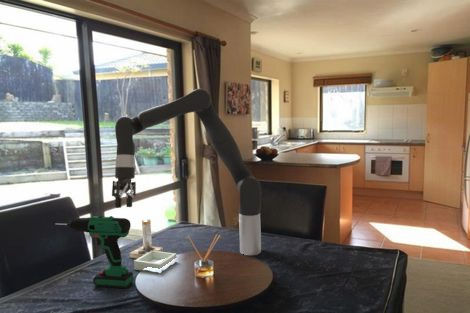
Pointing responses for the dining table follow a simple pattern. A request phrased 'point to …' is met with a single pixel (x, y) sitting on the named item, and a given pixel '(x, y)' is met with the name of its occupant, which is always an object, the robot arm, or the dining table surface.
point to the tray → (153, 260)
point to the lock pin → (146, 235)
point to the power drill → (107, 247)
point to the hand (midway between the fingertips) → (123, 207)
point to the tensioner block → (143, 252)
